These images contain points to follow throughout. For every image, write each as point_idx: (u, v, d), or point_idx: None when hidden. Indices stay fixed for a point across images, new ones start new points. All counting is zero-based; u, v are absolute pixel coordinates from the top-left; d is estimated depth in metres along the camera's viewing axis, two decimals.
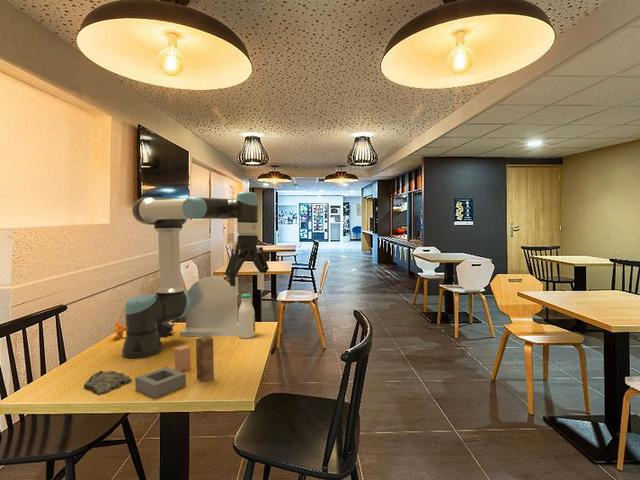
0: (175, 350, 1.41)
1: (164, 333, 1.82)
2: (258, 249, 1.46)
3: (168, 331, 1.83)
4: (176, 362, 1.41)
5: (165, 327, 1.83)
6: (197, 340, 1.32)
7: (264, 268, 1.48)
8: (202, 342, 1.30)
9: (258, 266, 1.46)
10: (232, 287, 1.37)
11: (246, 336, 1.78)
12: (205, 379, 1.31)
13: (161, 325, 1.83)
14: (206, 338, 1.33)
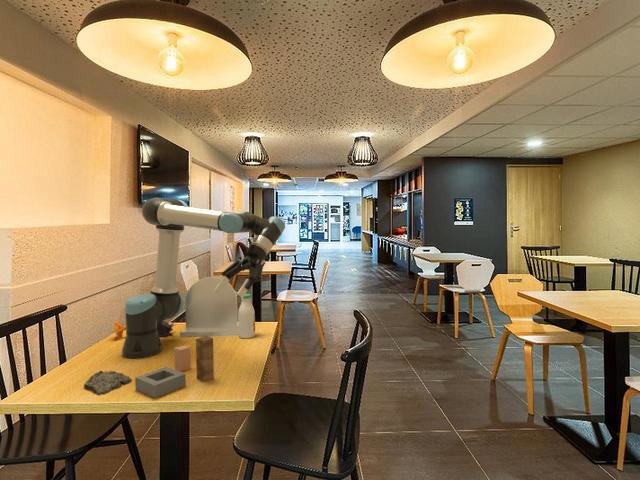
0: (175, 350, 1.41)
1: (163, 333, 1.82)
2: None
3: (167, 331, 1.83)
4: (176, 362, 1.41)
5: (164, 327, 1.83)
6: (197, 340, 1.32)
7: None
8: (202, 342, 1.30)
9: (233, 273, 1.48)
10: (243, 288, 1.36)
11: (246, 336, 1.78)
12: (205, 379, 1.31)
13: (160, 325, 1.83)
14: (206, 338, 1.33)
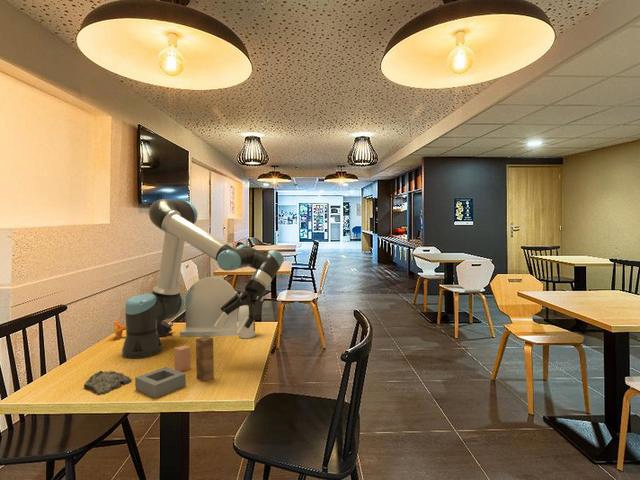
0: (175, 350, 1.41)
1: (163, 333, 1.82)
2: None
3: (167, 331, 1.83)
4: (176, 362, 1.41)
5: (164, 327, 1.83)
6: (197, 340, 1.32)
7: None
8: (202, 342, 1.30)
9: (232, 309, 1.47)
10: (243, 327, 1.36)
11: (246, 336, 1.78)
12: (205, 379, 1.31)
13: (160, 325, 1.82)
14: (206, 338, 1.33)
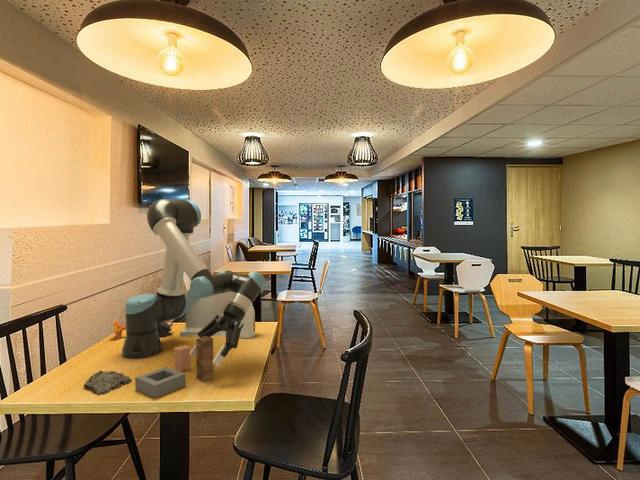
0: (175, 350, 1.41)
1: (162, 333, 1.82)
2: None
3: (166, 331, 1.83)
4: (176, 362, 1.41)
5: (163, 327, 1.83)
6: (197, 340, 1.32)
7: None
8: (202, 342, 1.30)
9: (210, 334, 1.40)
10: (219, 356, 1.28)
11: (246, 336, 1.78)
12: (205, 379, 1.31)
13: (159, 325, 1.82)
14: (206, 338, 1.33)
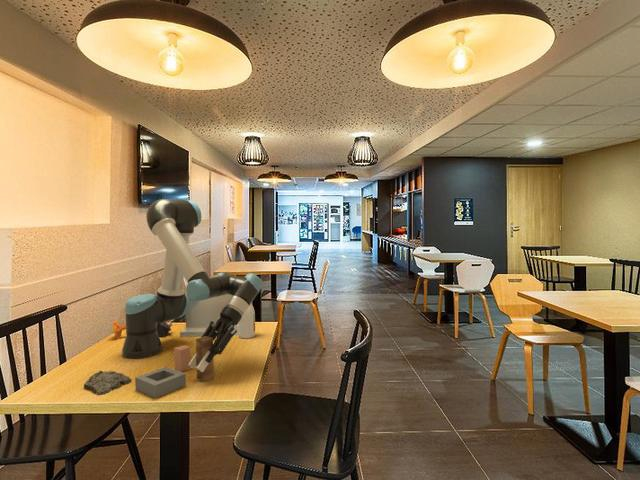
0: (175, 350, 1.41)
1: (161, 333, 1.82)
2: None
3: (166, 331, 1.83)
4: (176, 362, 1.41)
5: (163, 327, 1.83)
6: (197, 340, 1.32)
7: None
8: (202, 342, 1.30)
9: None
10: (203, 362, 1.29)
11: (246, 336, 1.78)
12: (205, 379, 1.31)
13: (159, 325, 1.82)
14: (206, 338, 1.32)
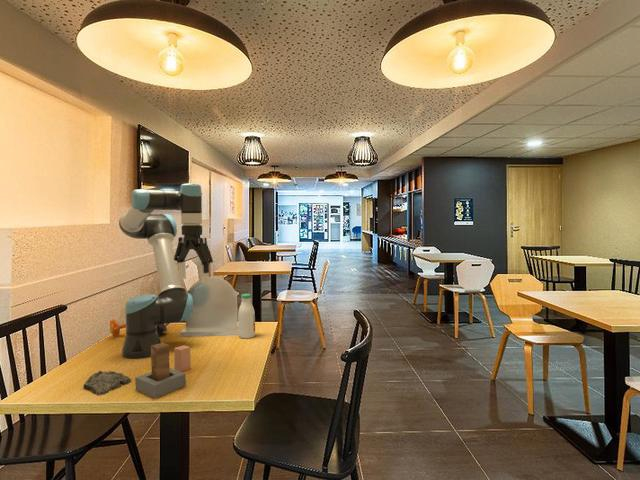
0: (175, 350, 1.41)
1: None
2: None
3: (160, 332, 1.82)
4: (176, 362, 1.41)
5: (157, 328, 1.82)
6: (152, 347, 1.25)
7: None
8: (156, 349, 1.23)
9: (184, 256, 1.50)
10: (204, 274, 1.43)
11: (246, 336, 1.78)
12: None
13: None
14: (161, 345, 1.25)
